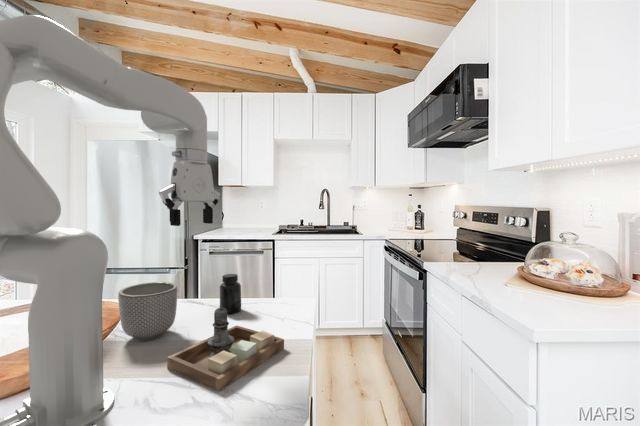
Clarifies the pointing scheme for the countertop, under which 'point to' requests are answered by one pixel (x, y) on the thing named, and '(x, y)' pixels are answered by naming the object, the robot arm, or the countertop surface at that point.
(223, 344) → the salt shaker
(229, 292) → the supplement bottle
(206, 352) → the tray
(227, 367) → the cube
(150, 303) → the planter
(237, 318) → the countertop surface
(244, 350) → the cube
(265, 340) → the cube
